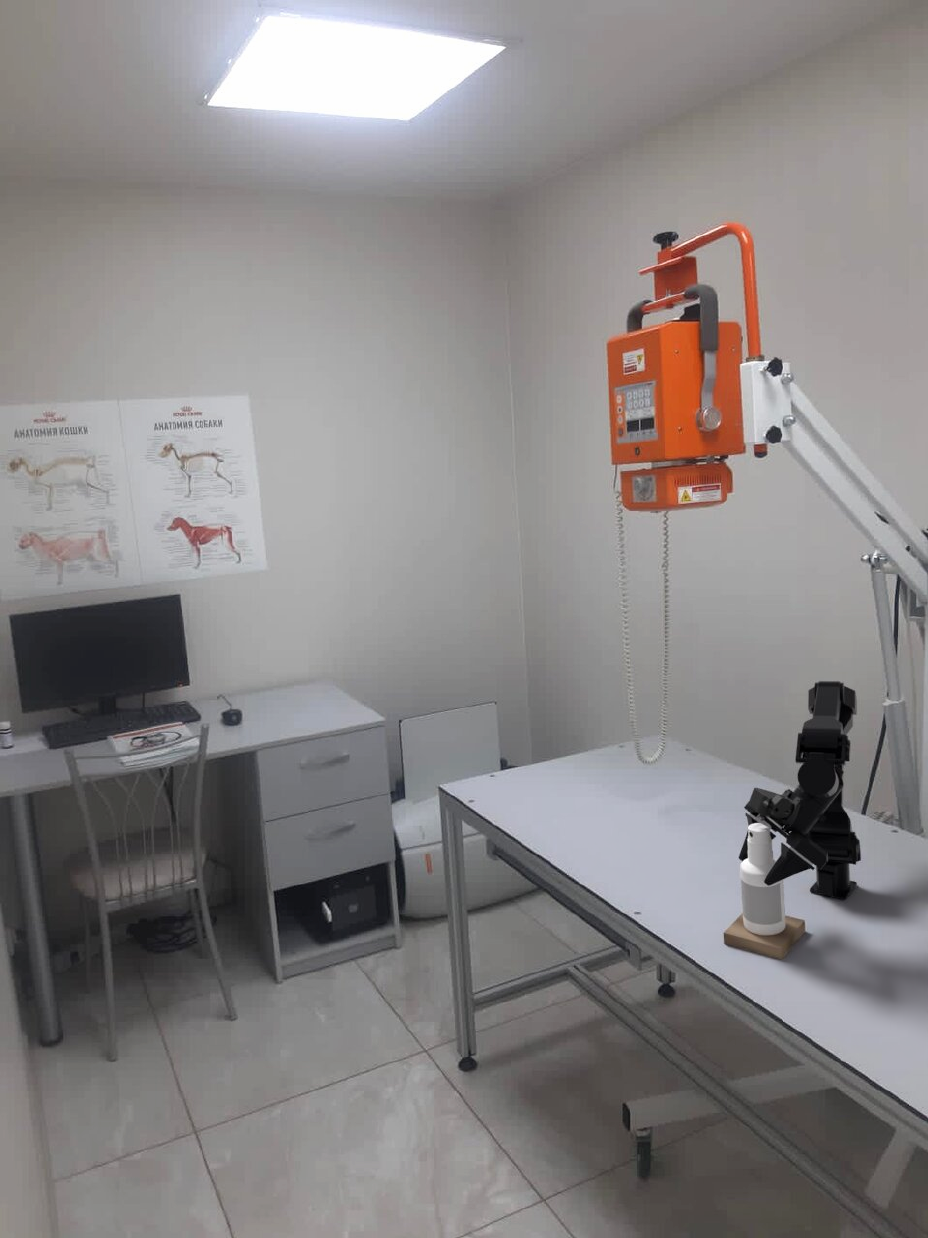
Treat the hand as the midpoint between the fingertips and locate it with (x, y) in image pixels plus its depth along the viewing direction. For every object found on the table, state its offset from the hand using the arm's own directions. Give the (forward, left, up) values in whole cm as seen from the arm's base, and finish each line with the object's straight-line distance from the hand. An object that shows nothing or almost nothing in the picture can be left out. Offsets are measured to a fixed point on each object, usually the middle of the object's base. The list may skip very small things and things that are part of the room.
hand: (753, 871), depth 163 cm
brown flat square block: (-1, +1, -12) cm, 12 cm away
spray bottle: (-1, +1, -11) cm, 11 cm away
